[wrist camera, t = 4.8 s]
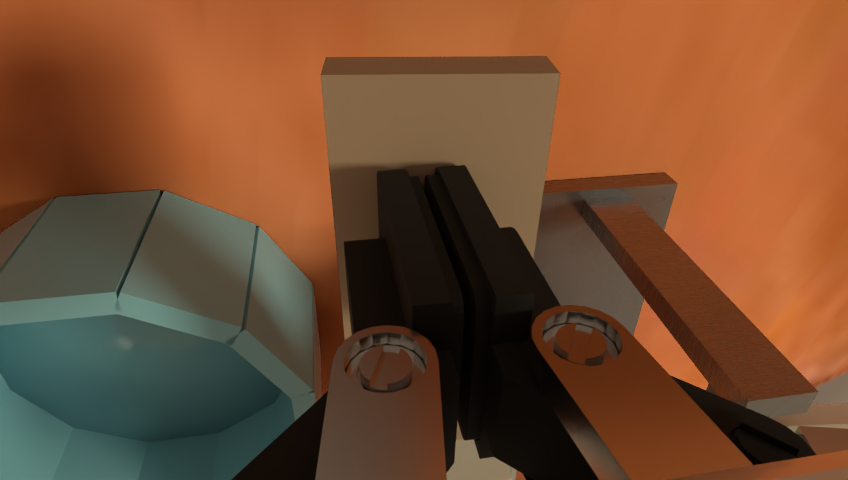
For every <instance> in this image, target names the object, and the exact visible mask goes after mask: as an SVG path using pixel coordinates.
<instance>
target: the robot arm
mask: <svg viewBox="0 0 848 480" xmlns="http://www.w3.org/2000/svg"><path fill="white" fill-rule="evenodd" d="M377 198H378V225H379V238H376V239H365V240H353V241H344V255H345V268H346V280H347V292H348V303H349V313H350V323H351V332H352V336H350V337H349V338H347V339H346V340H345V341H344V342H343V343H342V344H341V345H340V346H339V348H338V349H337V350H336V353H335V356H334V358H333V361H332V368H331V375H330V382H329V388H328V391H327V392H326V393H325V394H324V395H323V396H322V397H321V398H320V399H319V400H318V401H317V402H315V403H314V404H313V405H312V406H311V407H310V408H309V409H308V410H307V411H306V412H304V413H303V414H302V415H301V416H300V417H299V418H298V419H297V420H296V421H295V422H294V423H292V424H291V425H290V426H289V427H288V428H287V429H286V430H285V431H284V432H283V433H282V434H280V435H279V436H278V437H277V438H276V439H275V440H274V441H273V442H272V443H271V444H269V445H268V446H267V447H266V448H265V449H264V450H263V451H262V452H261V453H260V454H259V455H257V456H256V457H255V458H254V459H253V460H252V461H251V462H250V463H249V464H248V465H247V466H245V467H244V468H243V469H242V470H241V471H240V472H239V473H238V474H237V475H236V476H235V477H233V478H232V479H231V480H447V477H446V473H447V472H448V471H449V469H450V468H451V467H452V465H453V464H454V460H455V445H456V435H457V421H458V424H459V427H460V431H461V434H462V437H463V439H464V440H465V441H466V440H473V439H474V442H475V445H476V449H477V452H478V455H479V459H483V458H490V457H495V458H496V459H498V460H500V461H502V462H503V463H505V464H507V465H509V466H510V475H511V478H512V480H848V429H844V428H827V427H810V426H798V428H797V430H796V431H795V432H793V431H792V430H791V429H789V428H788V427H786V426H785V425H783V424H781V423H779V422H777V421H775V420H773V419H771V418H769V417H767V416H765V415H762V414H760V413H758V412H755V411H753V410H751V409H748V408H746V407H743V406H741V405H739V404H736V403H734V402H732V401H729V400H727V399H725V398H722V397H720V396H717V395H715V394H713V393H710V392H708V391H706V390H703V389H701V388H699V387H696V386H694V385H691V384H689V383H687V382H684V381H682V380H680V379H677V378H675V377H673V376H670V375H669V374H668V373H667V372H666V371H665V370H664V369H663V367H662V366H661V365H660V364H659V363H658V362H657V361H656V360H655V359H654V358H653V357H652V356H651V355H650V354H649V352H648V351H647V350H646V349H645V348H644V347H643V346H642V345H641V344H640V343H639V342H638V341H637V340H636V339H635V337H634V336H633V335H632V334H631V333H630V332H629V331H628V330H627V329H626V328H625V327H624V326H623V325H622V324H621V323H619V322H618V321H617V320H616V319H615V318H613V317H611V316H610V315H608V314H606V313H604V312H602V311H600V310H596V309H593V308H589V307H586V306H577V305H564V306H561V305H560V303H559V302H558V300H557V298H556V297H555V295H554V293H553V291H552V290H551V288H550V286H549V285H548V283H547V281H546V280H545V278H544V276H543V274H542V273H541V271H540V269H539V268H538V266H537V264H536V263H535V261H534V259H533V258H532V256H531V254H530V252H529V251H528V249H527V247H526V246H525V244H524V242H523V241H522V239H521V237H520V235H519V234H518V232H517V231H516V230H515V228H513V227H503V228H499V226H498V224H497V222H496V220H495V218H494V217H493V215H492V213H491V211H490V209H489V208H488V206H487V204H486V202H485V200H484V198H483V197H482V195H481V193H480V191H479V189H478V187H477V186H476V184H475V182H474V180H473V178H472V176H471V175H470V173H469V171H468V169H467V167H466V166H465V165H459V166H444V167H436V168H435V172H434V175H426V176H425V182H424V190H423V187H422V185H421V182H420V179H419V177H418V176H409V175H408V172H407V170H406V169H400V170H386V171H377Z"/></svg>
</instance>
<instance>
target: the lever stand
mask: <svg viewBox="0 0 848 480" xmlns="http://www.w3.org/2000/svg"><path fill="white" fill-rule="evenodd" d="M677 184H678V183H676V182H675V181H674V180H673V179H672V178H671V177H670V176H668V175H667V174H666V173H653V174H639V175H625V176H611V177H597V178H584V179H570V180H556V181H545V183H544V190H543V197H542V204H541V210H540V217H539V224H538V231H537V238H536V245H535V252H534V261H535V263H536V264H537V266H538V268H539V269H540V271H541V273H542V274H543V276H544V278H545V280H546V281H547V283H548V285H549V286H550V288H551V290H552V291H553V293H554V295H555V297H556V298H557V300H558V302H559V303H560V305H561V306H564V305H577V306H586V307H589V308H593V309H596V310H600V311H602V312H604V313H606V314H608V315H610V316H611V317H613V318H615V319H616V320H617V321H618V322H619V323H621V324H622V325H623V326H624V327H625V328H626V329H627V330H628V331H629V332H630V333H631V334H632V335H634V331H635V328H636V325H637V321H638V318H639V314H640V311H641V307H642V304H643V301H644V299H645V300H646V302H647V303H648V304H649V306H650V307H651V308H652V309H653V311H654V312H655V313H656V315H657V316H658V317H659V319H660V320H661V321H662V323H663V324H664V325H665V326H666V328H667V329H668V330H669V332H670V333H671V334H672V336H673V337H674V338H675V339H676V341H677V342H678V343H679V345H680V346H681V347H682V349H683V350H684V351H685V353H686V354H687V355H688V356H689V358H690V359H691V360H692V362H693V363H694V364H695V366H696V367H697V368H698V370H699V371H700V372H701V373H702V375H703V376H704V377H705V379H706V380H707V381H708V383H709V384H710V385H711V387H712V388H713V389H714V390H715V392H716V393H717V394H718V396H720V397H722V398H725V399H727V400H729V401H732V402H734V403H736V404H739V405H741V406H743V407H746V408H748V409H751V410H753V411H755V412H758V413H760V414H762V415H765V416H767V417H769V418H770V417H777V416H784V415H791V414H798V413H805V412H807V410H808V409H809V407H810V405H811V403H812V401H813V400H814V398H815V396H816V395H817V393H818V391H817V390H816V389H815V388H814V387H813V386H812V385H811V384H810V383H809V382H808V381H807V380H806V378H805V377H804V376H803V375H802V374H801V373H800V372H799V371H798V370H797V369H796V368H795V367H794V366H793V365H792V364H791V363H790V362H789V361H788V360H787V359H786V358H785V357H784V356H783V354H782V353H781V352H780V351H779V350H778V349H777V348H776V347H775V346H774V345H773V344H772V343H771V342H770V341H769V340H768V339H767V338H766V337H765V336H764V335H763V334H762V333H761V332H760V330H759V329H758V328H757V327H756V326H755V325H754V324H753V323H752V322H751V321H750V320H749V319H748V318H747V317H746V316H745V315H744V314H743V313H742V312H741V311H740V310H739V309H738V308H737V306H736V305H735V304H734V303H733V302H732V301H731V300H730V299H729V298H728V297H727V296H726V295H725V294H724V293H723V292H722V291H721V290H720V289H719V288H718V287H717V286H716V285H715V284H714V282H713V281H712V280H711V279H710V278H709V277H708V276H707V275H706V274H705V273H704V272H703V271H702V270H701V269H700V268H699V267H698V266H697V265H696V264H695V263H694V262H693V261H692V260H691V258H690V257H689V256H688V255H687V254H686V253H685V252H684V251H683V250H682V249H681V248H680V247H679V246H678V245H677V244H676V243H675V242H674V241H673V240H672V239H671V238H670V237H669V236H668V234H667V233H666V232H665V231H664V229H665V225H666V222H667V218H668V215H669V211H670V208H671V205H672V201H673V198H674V194H675V191H676V187H677Z"/></svg>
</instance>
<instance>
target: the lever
mask: <svg viewBox="0 0 848 480" xmlns="http://www.w3.org/2000/svg"><path fill="white" fill-rule="evenodd" d="M559 79H560V72H559V71H558V70H557V69H556V67H555V66H554V65H553V64H552V63H551V61H550V60H549V59H548V58H547V56H510V57H326V59H325V63H324V66H323V69H322V73H321V83H322V94H323V105H324V116H325V127H326V138H327V149H328V160H329V171H330V183H331V194H332V205H333V216H334V227H335V238H336V249H337V260H338V271H339V282H340V293H341V305H342V316H343V327H344V338H345V340H346V339H347V338H349V337H350V336H352V332H351V323H350V313H349V303H348V292H347V280H346V268H345V255H344V241H353V240H365V239H376V238H379V225H378V198H377V171H386V170H400V169H406V170H407V172H408V175H409V176H418V177H419V179H420V182H421V185H422V187H423V190H424V182H425V176H426V175H434V172H435V168H436V167H444V166H459V165H465V166H466V167H467V169H468V171H469V173H470V175H471V176H472V178H473V180H474V182H475V184H476V186H477V187H478V189H479V191H480V193H481V195H482V197H483V198H484V200H485V202H486V204H487V206H488V208H489V209H490V211H491V213H492V215H493V217H494V218H495V220H496V222H497V224H498V226H499V228H503V227H513V228H515V230H516V231H517V232H518V234H519V235H520V237H521V239H522V241H523V242H524V244H525V246H526V247H527V249H528V251H529V252H530V254H531V256H532V258H533V259H534V252H535V245H536V238H537V231H538V224H539V217H540V210H541V204H542V197H543V190H544V183H545V176H546V169H547V162H548V155H549V148H550V141H551V135H552V128H553V121H554V114H555V107H556V100H557V93H558V86H559ZM706 391H708V392H710V393H713V394H715V395H717V396H718V394H717V393H716V392H715V390H714V389H713V388H712V387H711V385H710V384H709V385H708V387H707V389H706ZM770 418H771V419H773V420H775V421H777V422H779V423H781V424H783V425H785V426H786V427H788V428H789V429H791V430H792V431H793V432H795V431H796V430H797V428H798V426H810V427H827V428H844V429H848V403H839V404H816V405H810V407H809V409H808V410H807V412H805V413H798V414H791V415H784V416H777V417H770ZM446 477H447V480H512V478H511V475H510V466H509V465H507V464H505V463H503V462H502V461H500V460H498V459H496V458H495V457H490V458H483V459H479V455H478V452H477V449H476V445H475V442H474V439H473V440H466V441H465V440H464V439H463V437H462V434H461V431H460V427H459V424H458V421H457V435H456V445H455V460H454V464H453V465H452V467H451V468H450V469H449V471H448V472H447V473H446Z"/></svg>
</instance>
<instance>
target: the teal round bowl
mask: <svg viewBox="0 0 848 480" xmlns="http://www.w3.org/2000/svg"><path fill="white" fill-rule="evenodd" d="M321 397H322V383H321V345H320V337H319V329H318V321H317V312H316V304H315V296H314V288H313V285H312V282H311V281H310V280H309V279H308V278H307V277H306V276H305V275H304V274H303V273H302V272H301V270H300V269H299V268H298V267H297V266H296V265H295V264H294V263H293V262H292V261H291V260H290V259H289V258H288V256H287V255H286V254H285V253H284V252H283V251H282V250H281V249H280V248H279V247H278V246H277V245H276V244H275V242H274V241H273V240H272V239H271V238H270V237H269V236H268V235H267V234H266V233H265V232H264V231H263V230H262V229H261V227H260V226H259V227H257V228H256V224H254V223H252V222H249V221H246V220H243V219H241V218H238V217H235V216H233V215H230V214H227V213H224V212H222V211H219V210H216V209H213V208H211V207H208V206H205V205H202V204H200V203H197V202H194V201H192V200H189V199H186V198H183V197H181V196H178V195H175V194H172V193H170V192H167V191H164V192H163V194H162V195H161V191H160V190H151V191H136V192H121V193H106V194H92V195H77V196H62V197H57V198H56V199H54V198H52V199H51V200H49V201H48V202H46V203H45V204H43V205H42V206H40V207H39V208H37V209H36V210H34V211H33V212H31V213H30V214H28V215H27V216H25V217H24V218H22V219H21V220H19V221H17V222H16V223H14V224H13V225H11V226H10V227H8V228H7V229H5V230H4V231H2V232H1V233H0V480H231V479H232V478H233V477H235V476H236V475H237V474H238V473H239V472H240V471H241V470H242V469H243V468H244V467H245V466H247V465H248V464H249V463H250V462H251V461H252V460H253V459H254V458H255V457H256V456H257V455H259V454H260V453H261V452H262V451H263V450H264V449H265V448H266V447H267V446H268V445H269V444H271V443H272V442H273V441H274V440H275V439H276V438H277V437H278V436H279V435H280V434H282V433H283V432H284V431H285V430H286V429H287V428H288V427H289V426H290V425H291V424H292V423H294V422H295V421H296V420H297V419H298V418H299V417H300V416H301V415H302V414H303V413H304V412H306V411H307V410H308V409H309V408H310V407H311V406H312V405H313V404H314V403H315V402H317V401H318V400H319V399H320V398H321Z"/></svg>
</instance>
